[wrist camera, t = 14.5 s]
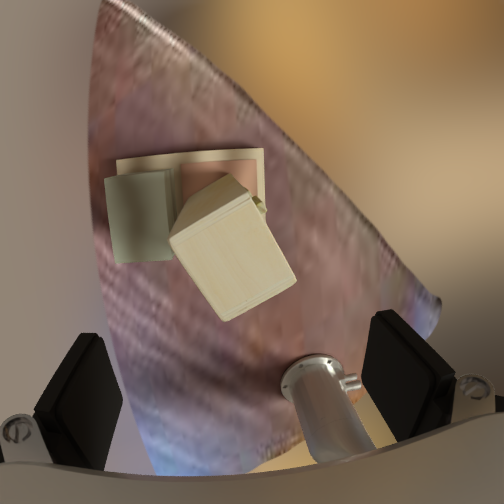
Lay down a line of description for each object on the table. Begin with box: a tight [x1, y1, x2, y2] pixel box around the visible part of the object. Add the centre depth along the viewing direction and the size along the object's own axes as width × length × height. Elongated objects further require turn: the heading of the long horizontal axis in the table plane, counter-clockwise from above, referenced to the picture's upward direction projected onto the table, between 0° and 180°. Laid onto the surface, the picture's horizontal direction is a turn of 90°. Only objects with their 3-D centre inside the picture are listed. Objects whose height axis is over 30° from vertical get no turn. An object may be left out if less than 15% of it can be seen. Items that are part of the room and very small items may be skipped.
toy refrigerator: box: [167, 173, 297, 322], centre depth 32 cm, size 8×7×21 cm
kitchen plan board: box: [104, 148, 266, 264], centre depth 39 cm, size 20×14×11 cm
